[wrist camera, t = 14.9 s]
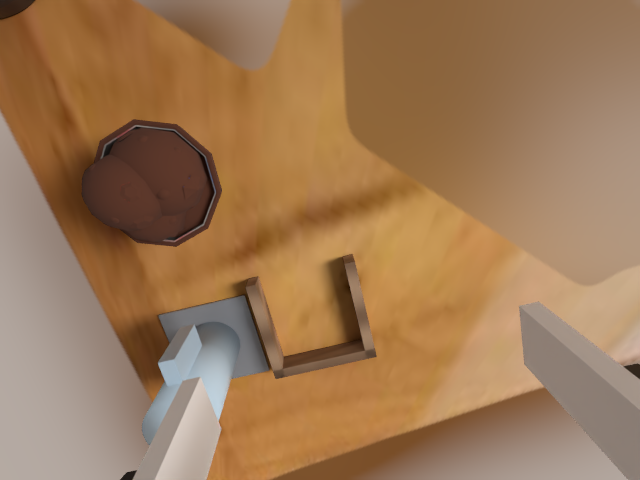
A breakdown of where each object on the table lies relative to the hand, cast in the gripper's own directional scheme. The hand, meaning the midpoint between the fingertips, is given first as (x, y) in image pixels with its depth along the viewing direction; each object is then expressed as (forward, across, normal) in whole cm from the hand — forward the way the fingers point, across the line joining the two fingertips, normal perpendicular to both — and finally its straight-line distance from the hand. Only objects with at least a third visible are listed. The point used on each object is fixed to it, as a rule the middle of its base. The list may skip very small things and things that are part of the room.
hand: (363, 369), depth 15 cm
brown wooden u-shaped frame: (+29, -5, -12) cm, 31 cm away
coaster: (+29, -18, -13) cm, 36 cm away
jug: (+28, -18, -12) cm, 35 cm away
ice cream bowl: (+29, -14, +8) cm, 33 cm away
